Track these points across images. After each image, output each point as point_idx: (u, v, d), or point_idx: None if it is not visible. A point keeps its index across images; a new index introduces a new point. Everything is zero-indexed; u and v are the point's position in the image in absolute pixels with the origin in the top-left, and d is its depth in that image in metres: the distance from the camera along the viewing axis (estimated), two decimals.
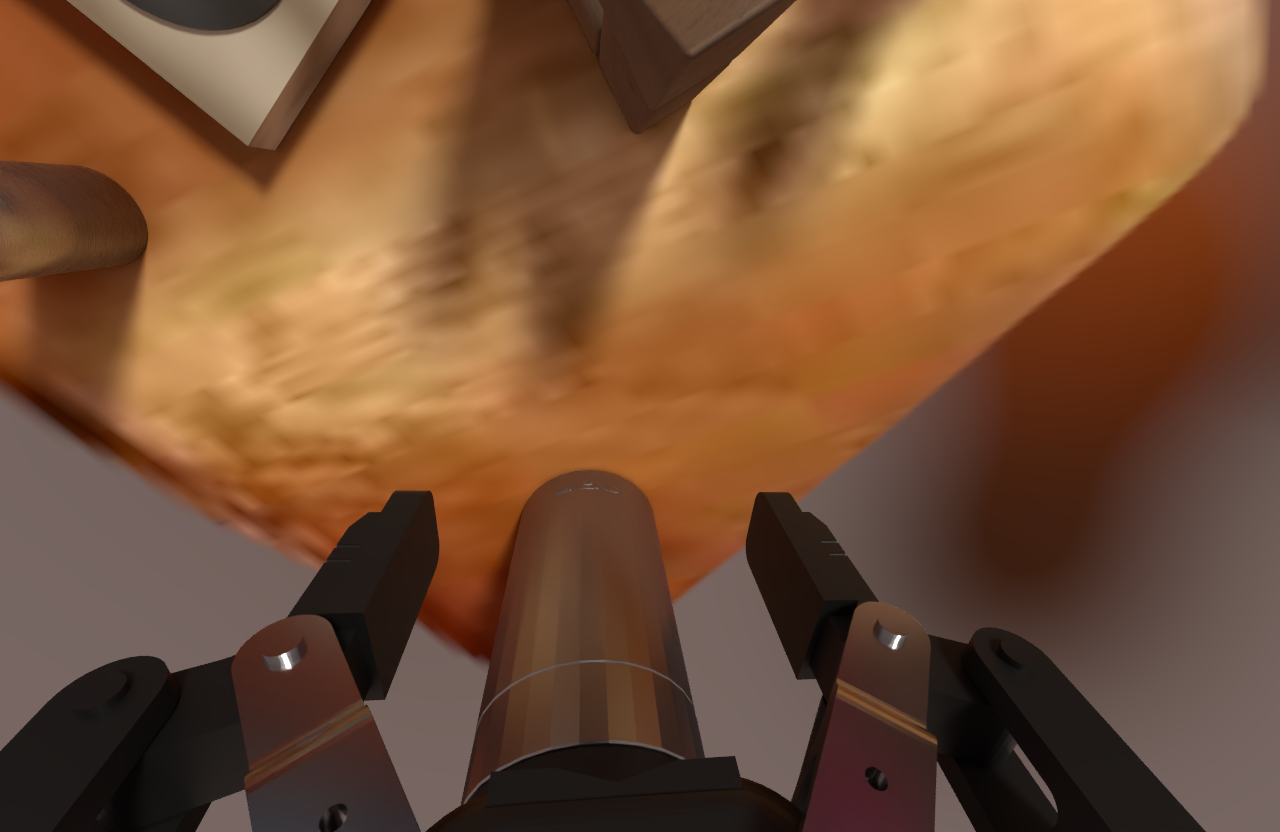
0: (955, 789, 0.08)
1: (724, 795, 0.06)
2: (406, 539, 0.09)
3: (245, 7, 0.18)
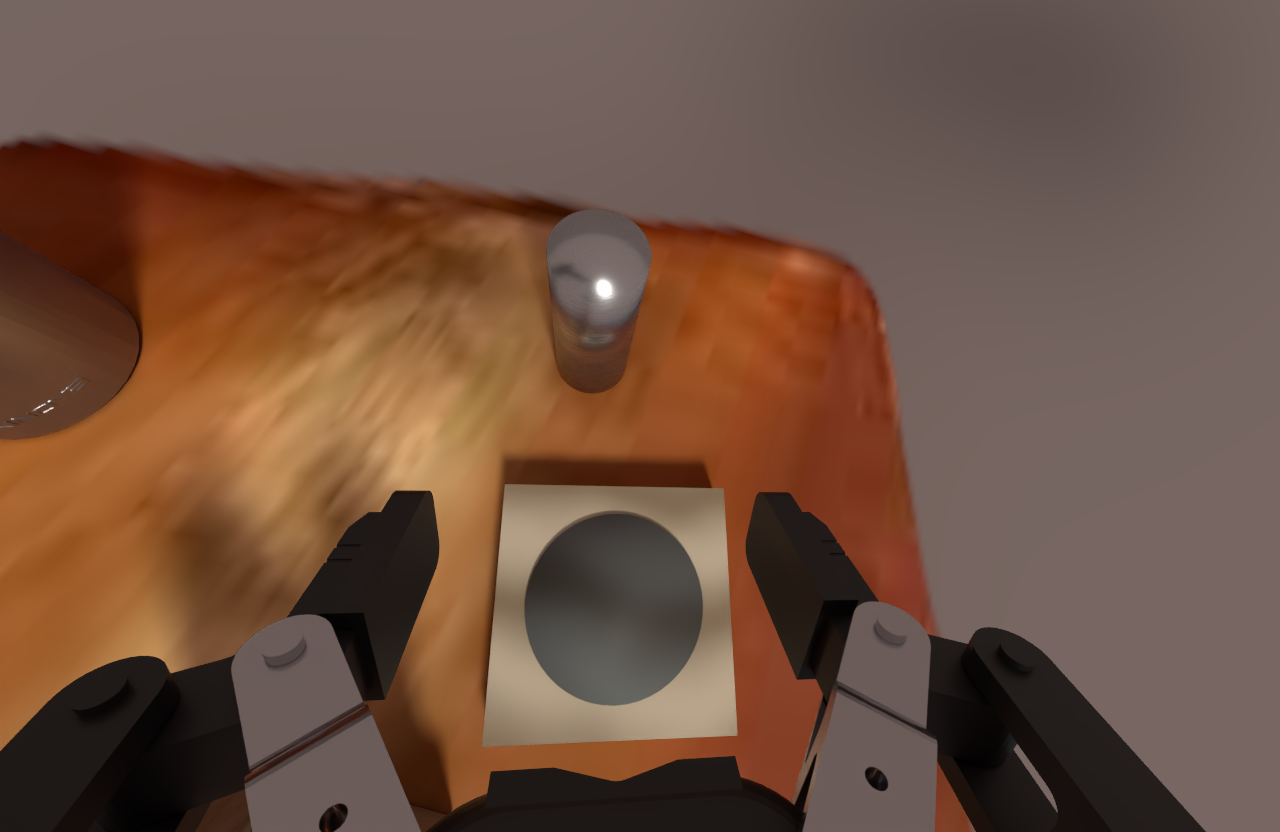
0: (955, 789, 0.08)
1: (724, 795, 0.06)
2: (406, 539, 0.09)
3: (541, 571, 0.24)
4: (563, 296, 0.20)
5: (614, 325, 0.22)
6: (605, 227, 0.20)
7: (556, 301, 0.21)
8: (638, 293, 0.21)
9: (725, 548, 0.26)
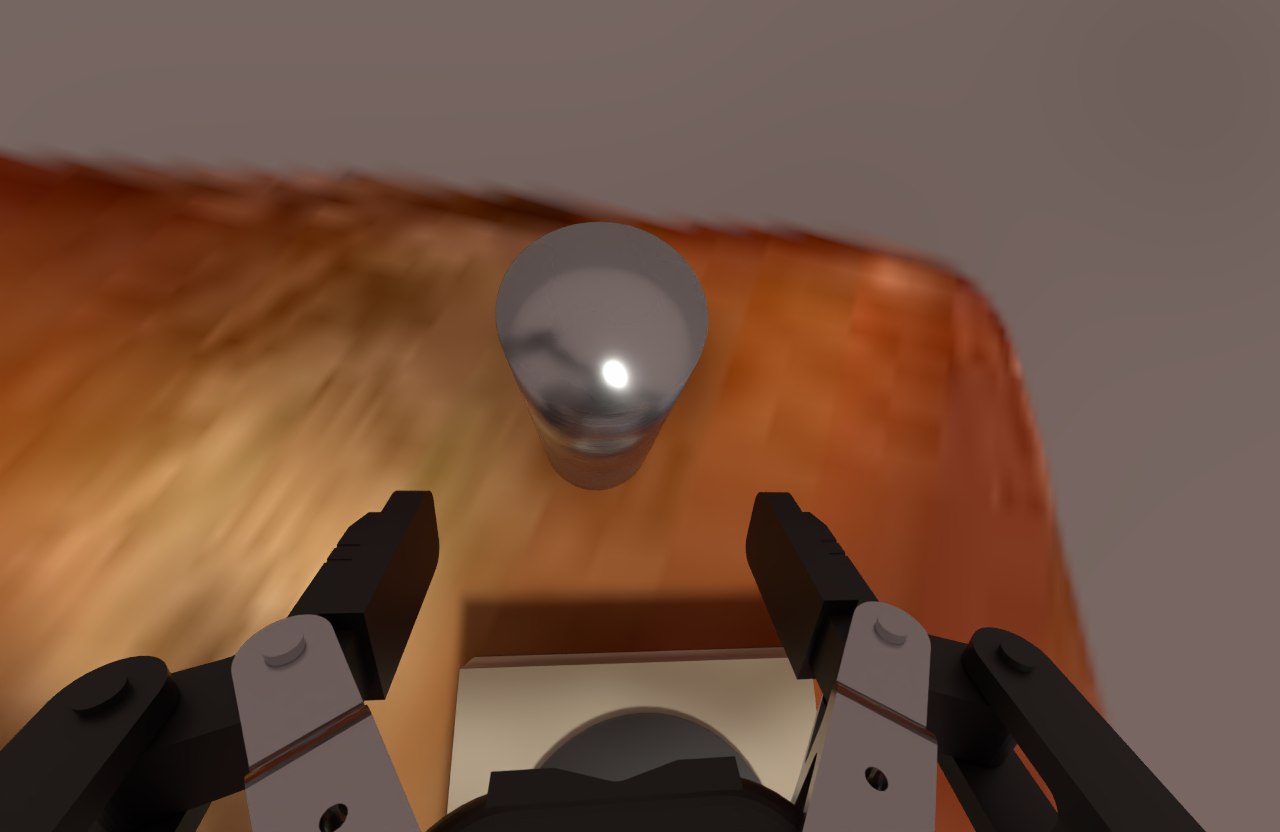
0: (955, 789, 0.08)
1: (724, 795, 0.06)
2: (406, 539, 0.09)
3: None
4: (534, 399, 0.10)
5: (634, 436, 0.12)
6: (615, 259, 0.10)
7: (525, 398, 0.11)
8: (682, 386, 0.11)
9: None
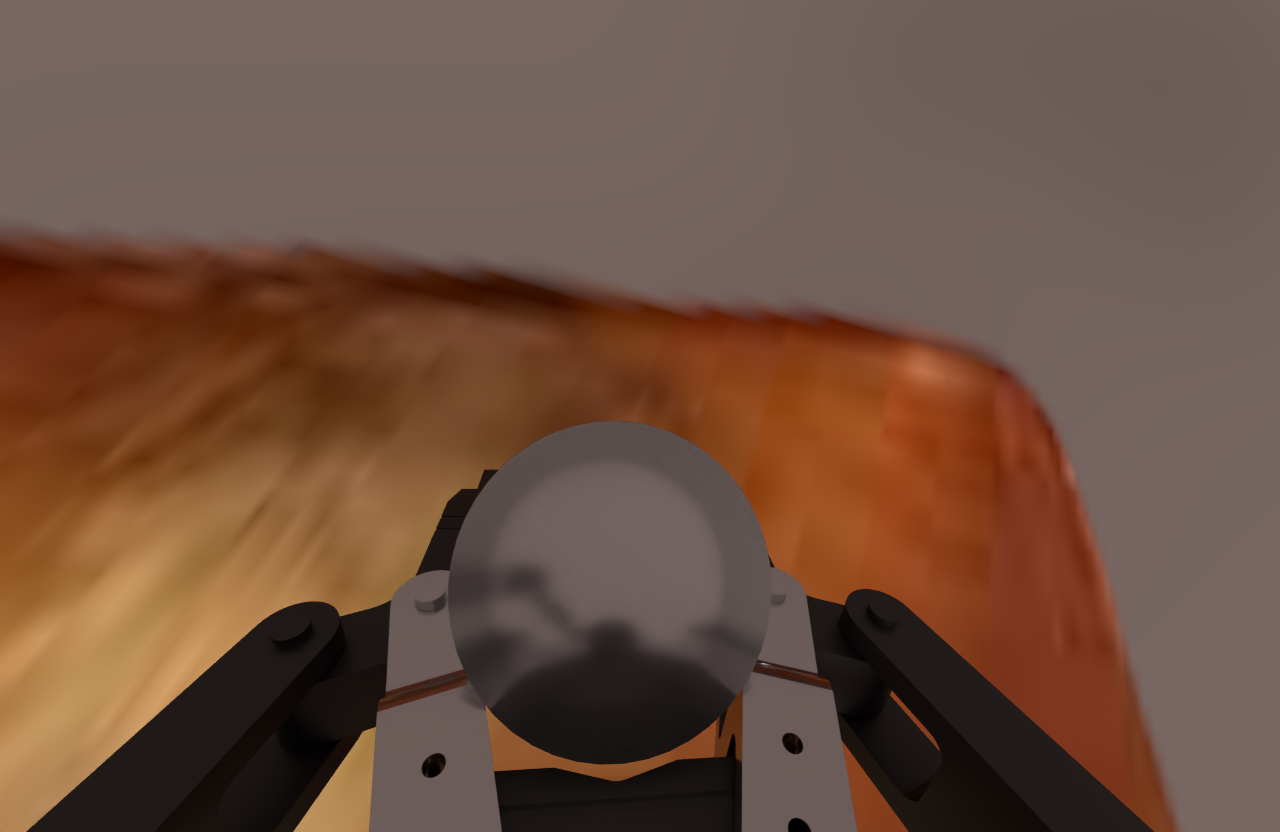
0: (850, 748, 0.08)
1: (724, 795, 0.06)
2: None
3: None
4: None
5: None
6: (633, 483, 0.07)
7: None
8: None
9: None
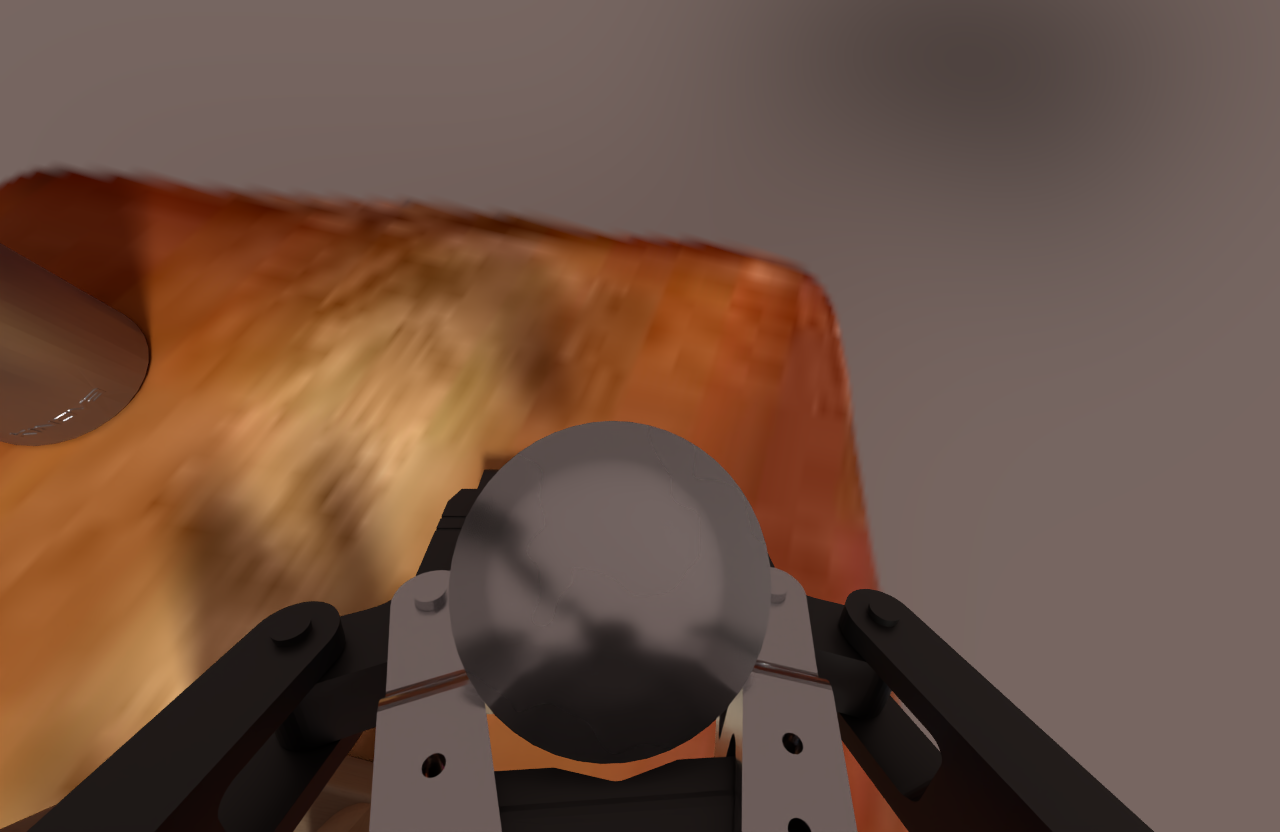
0: (850, 748, 0.08)
1: (724, 795, 0.06)
2: None
3: None
4: None
5: None
6: (633, 482, 0.07)
7: None
8: None
9: None
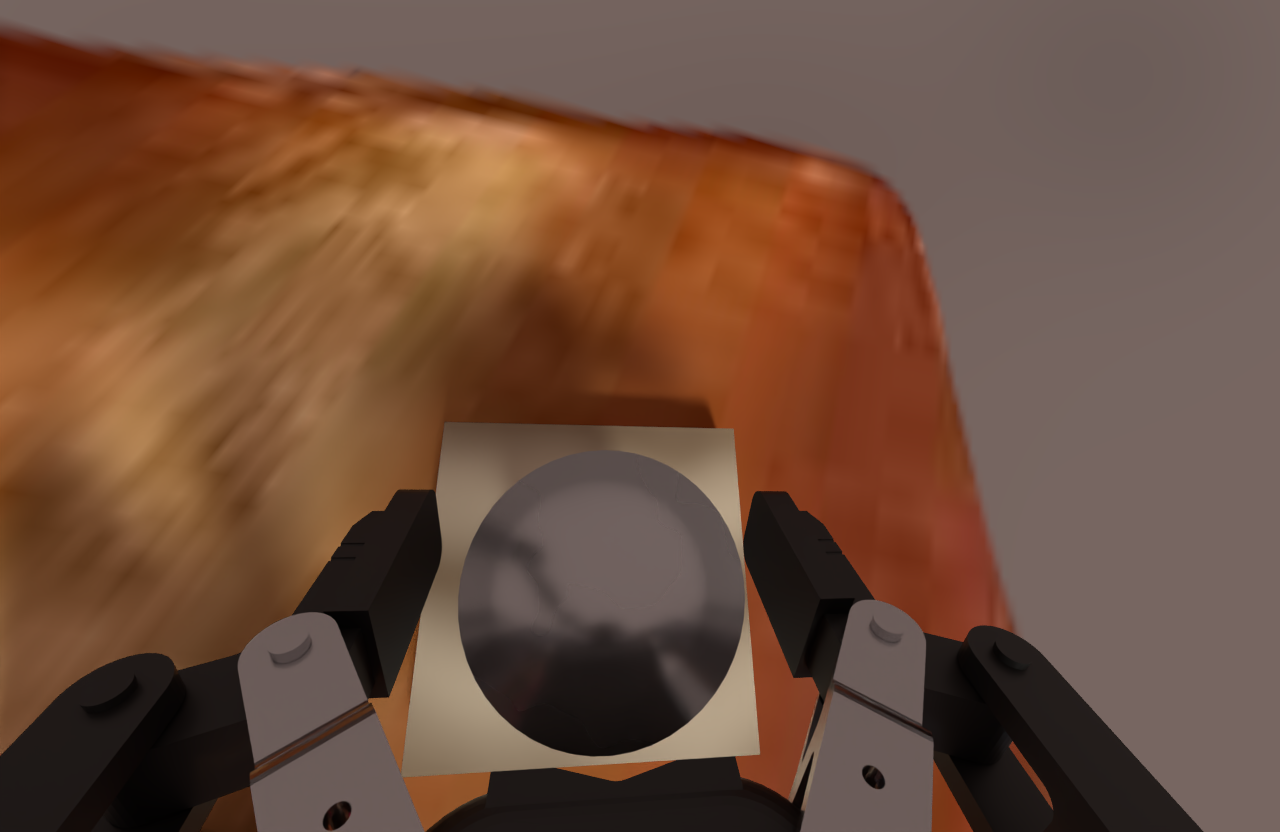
0: (951, 787, 0.08)
1: (724, 795, 0.06)
2: (410, 538, 0.10)
3: None
4: None
5: None
6: (622, 506, 0.08)
7: None
8: None
9: (737, 504, 0.20)
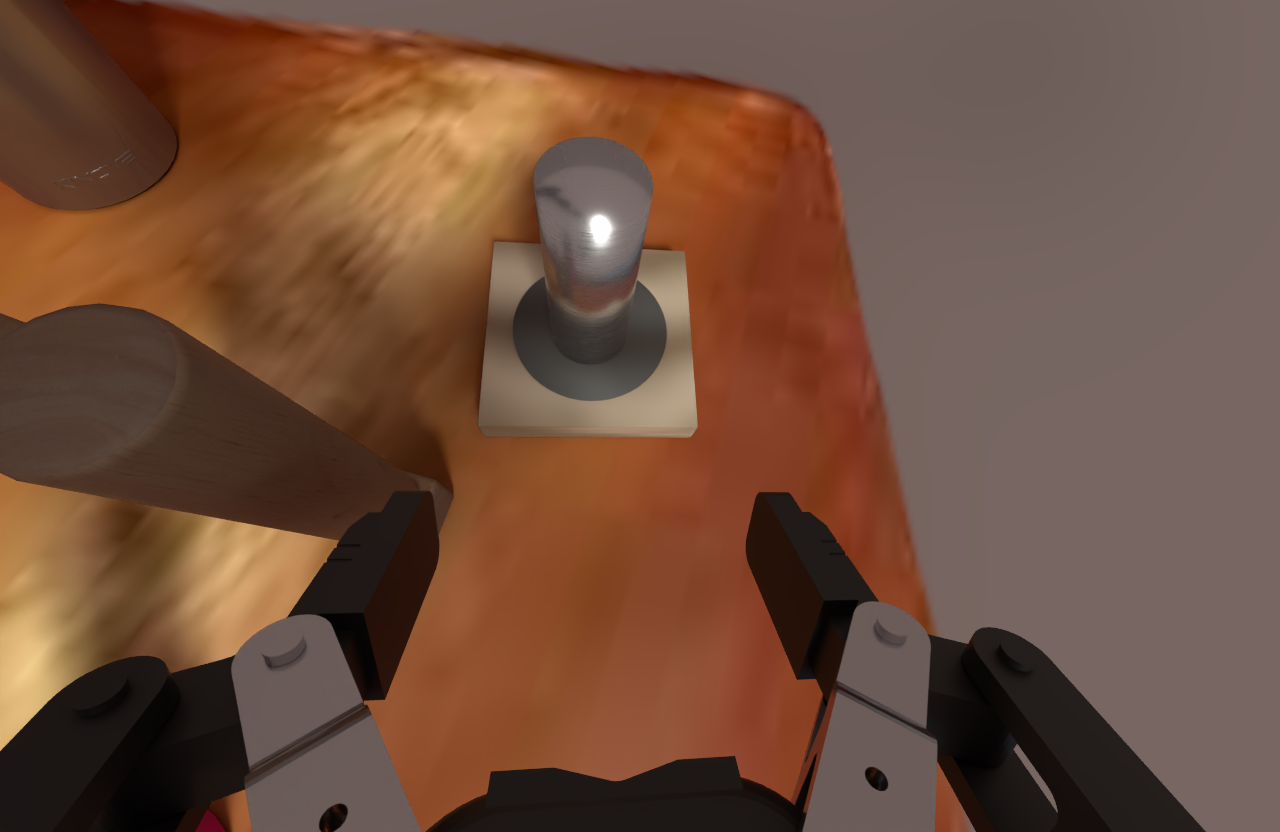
0: (955, 789, 0.08)
1: (724, 795, 0.06)
2: (406, 539, 0.09)
3: (526, 302, 0.28)
4: (553, 234, 0.18)
5: (612, 271, 0.19)
6: (600, 156, 0.18)
7: (547, 244, 0.19)
8: (639, 230, 0.18)
9: (686, 294, 0.30)
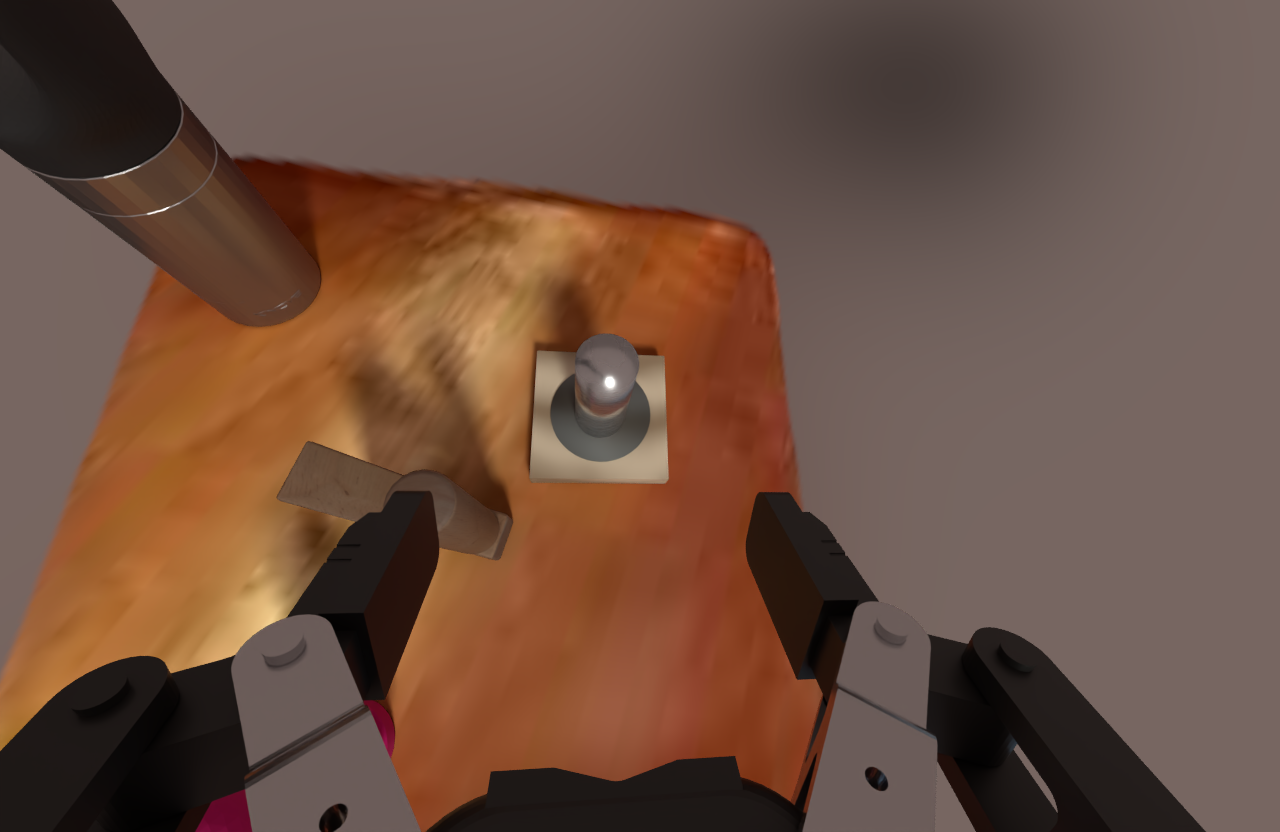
0: (955, 789, 0.08)
1: (724, 795, 0.06)
2: (406, 539, 0.09)
3: (559, 395, 0.43)
4: (584, 389, 0.33)
5: (616, 403, 0.34)
6: (610, 346, 0.33)
7: (580, 389, 0.34)
8: (631, 386, 0.33)
9: (664, 387, 0.45)
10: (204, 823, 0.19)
